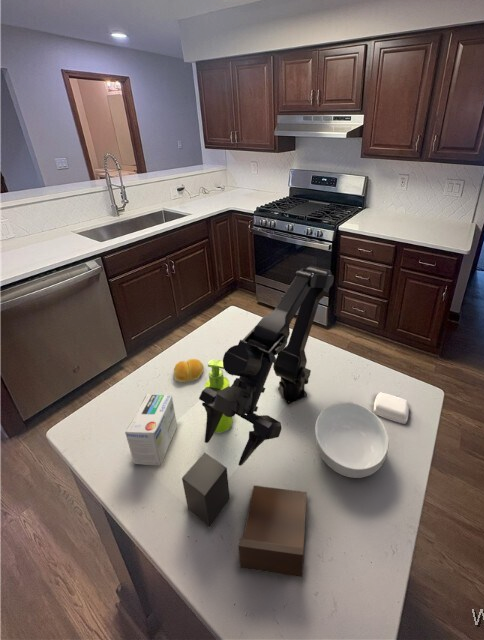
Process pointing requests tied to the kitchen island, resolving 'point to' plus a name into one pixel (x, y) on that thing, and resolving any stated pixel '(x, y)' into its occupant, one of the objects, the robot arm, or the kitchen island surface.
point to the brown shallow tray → (274, 532)
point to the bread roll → (188, 370)
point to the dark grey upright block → (206, 489)
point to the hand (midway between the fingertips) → (222, 453)
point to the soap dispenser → (220, 382)
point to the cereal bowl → (351, 439)
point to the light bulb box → (152, 430)
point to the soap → (391, 407)
